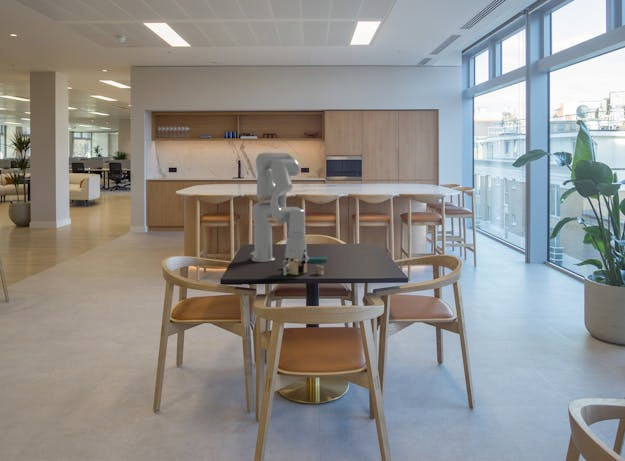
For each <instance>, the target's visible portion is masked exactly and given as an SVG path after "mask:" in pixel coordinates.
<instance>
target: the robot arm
mask: <svg viewBox="0 0 625 461" xmlns="http://www.w3.org/2000/svg"><path fill="white" fill-rule="evenodd" d="M255 165H256V166H255V167H256V170H257V180H256V181H257V182H256V197H257V199H259V201H260V200H261V201H260V202H256V203H254V204H253V205H252V216H253V226H254V227H253V228H254V250H252V252H250V256H253V257H251V261H252V262H256V263H257V262H258V263H268V262H269V263H270V262H271V263H272V262H274V261H275V260H276V257H274V256H273V227H272V225H271V223H270V222H269V220H270V221H271V220H274V222H275V223H279V224H284V223H285V224H286V223H288V231H287V235H288V237H287V238H286V243H285V253H284V255H283V257H284V258H285V260H286V261H291V260H294V259H297V260H299V266H298V273H299V274H298V275H302V274H305V273H304V265H305V263H306V262H307V261H308V260H309V257H310V256H308V249H307V248H308V246H307V240H306V237H305V234H306V232H305V228H306V227H305V226H306V225H305V224H306V222H305V221H306V212H305V210H304V209H302V208H299V207H298V206H286V204H287V203H286V201H287V193H289V192H291V191H292V190H293V184H292V179H291V177H296V176H298V175H299V174H300V164H299V163H298V161H297V159H296V158H295V157H293V156H292V155H291V154H289V153H287V152H261V153H259V154H257V156H256V159H255ZM301 260H302V262H301ZM301 273H302V274H301Z"/></svg>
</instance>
